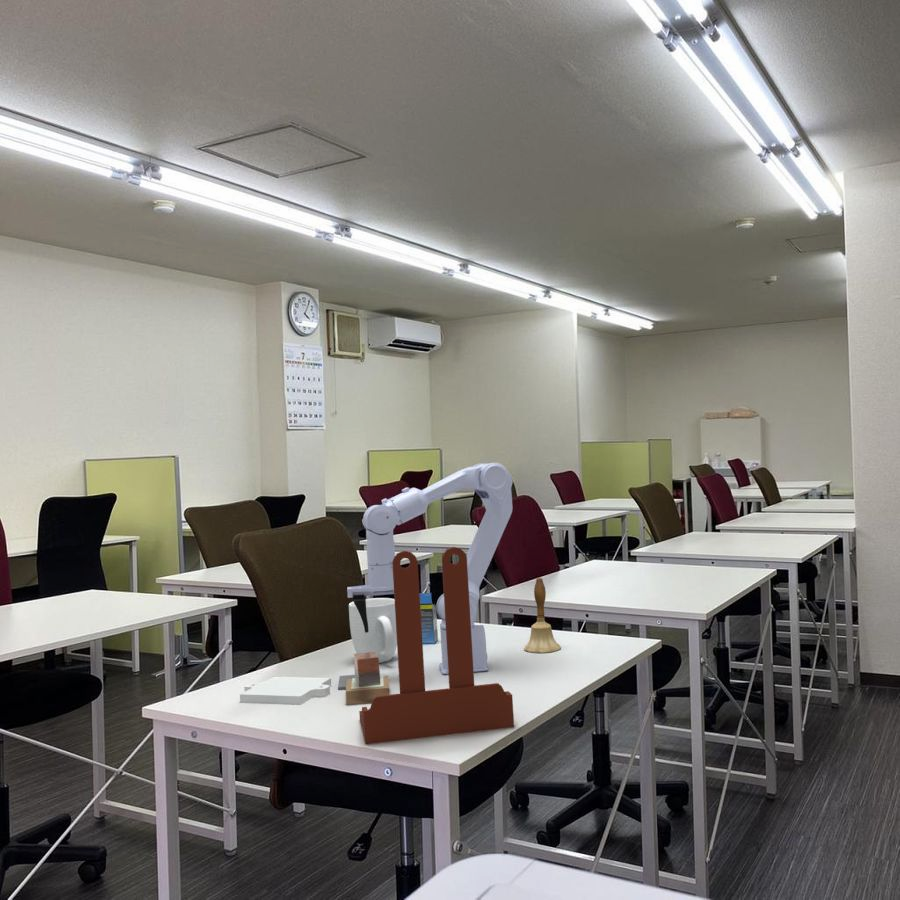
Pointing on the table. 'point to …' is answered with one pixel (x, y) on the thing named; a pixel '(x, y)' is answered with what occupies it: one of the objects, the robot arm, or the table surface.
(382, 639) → the mug
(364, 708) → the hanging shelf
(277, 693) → the mounting plate
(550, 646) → the hand bell
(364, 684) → the block
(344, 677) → the mat
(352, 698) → the stand
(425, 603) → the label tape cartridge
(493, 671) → the table surface
